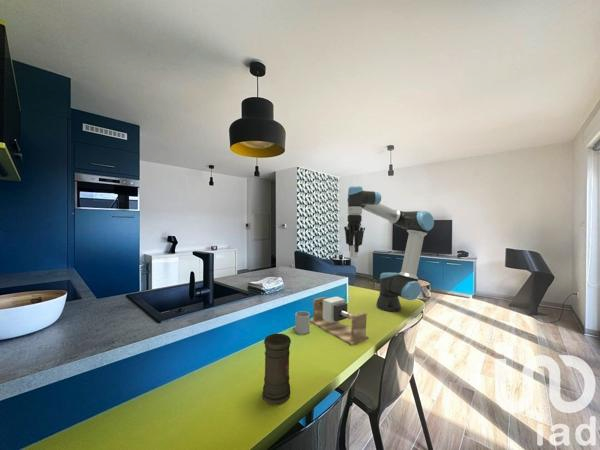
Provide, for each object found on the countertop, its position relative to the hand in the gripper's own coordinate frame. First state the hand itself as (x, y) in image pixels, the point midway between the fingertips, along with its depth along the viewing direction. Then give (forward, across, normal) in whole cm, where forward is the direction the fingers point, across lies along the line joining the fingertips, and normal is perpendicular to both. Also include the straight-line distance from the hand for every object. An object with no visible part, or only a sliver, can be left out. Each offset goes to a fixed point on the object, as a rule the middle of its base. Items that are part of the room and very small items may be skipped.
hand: (353, 257), depth 132 cm
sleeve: (+31, -2, -12) cm, 34 cm away
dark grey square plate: (+30, +3, -12) cm, 33 cm away
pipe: (+28, +1, -12) cm, 30 cm away
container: (+37, +24, -62) cm, 75 cm away
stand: (+36, +1, -12) cm, 38 cm away
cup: (+37, -9, -28) cm, 47 cm away
